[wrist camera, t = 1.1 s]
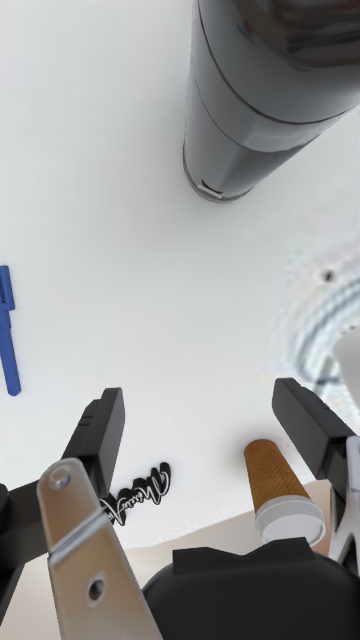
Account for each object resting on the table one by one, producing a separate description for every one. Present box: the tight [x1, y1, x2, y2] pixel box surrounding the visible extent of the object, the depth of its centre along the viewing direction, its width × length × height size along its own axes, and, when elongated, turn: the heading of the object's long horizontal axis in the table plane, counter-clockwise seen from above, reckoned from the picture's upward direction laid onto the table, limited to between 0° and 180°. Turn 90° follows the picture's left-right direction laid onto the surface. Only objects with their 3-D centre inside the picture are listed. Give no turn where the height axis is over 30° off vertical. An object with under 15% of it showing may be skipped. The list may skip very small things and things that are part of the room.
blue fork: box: [0, 266, 21, 396], centre depth 31 cm, size 21×4×1 cm, turn 174°
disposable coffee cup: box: [244, 440, 326, 547], centre depth 34 cm, size 10×10×12 cm
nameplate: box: [99, 463, 171, 526], centre depth 43 cm, size 28×2×10 cm
